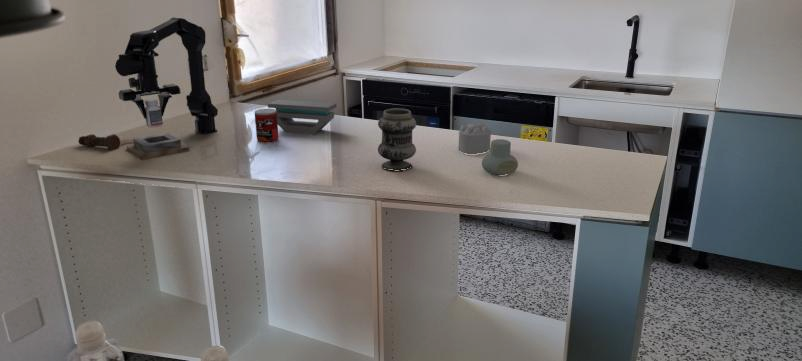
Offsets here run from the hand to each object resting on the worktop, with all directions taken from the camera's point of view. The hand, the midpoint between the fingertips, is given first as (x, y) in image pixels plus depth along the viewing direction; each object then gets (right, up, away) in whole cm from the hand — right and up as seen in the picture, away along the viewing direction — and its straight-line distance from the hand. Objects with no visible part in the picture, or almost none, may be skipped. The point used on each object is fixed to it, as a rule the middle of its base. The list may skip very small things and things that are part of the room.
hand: (153, 117), depth 204 cm
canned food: (+36, -7, +15) cm, 39 cm away
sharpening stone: (+47, -3, +27) cm, 54 cm away
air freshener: (+115, -20, -21) cm, 118 cm away
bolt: (-22, -10, +7) cm, 25 cm away
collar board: (0, -11, +4) cm, 12 cm away
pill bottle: (0, -3, +1) cm, 3 cm away
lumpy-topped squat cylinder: (+110, -11, +2) cm, 110 cm away
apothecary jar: (+83, -18, -15) cm, 87 cm away
